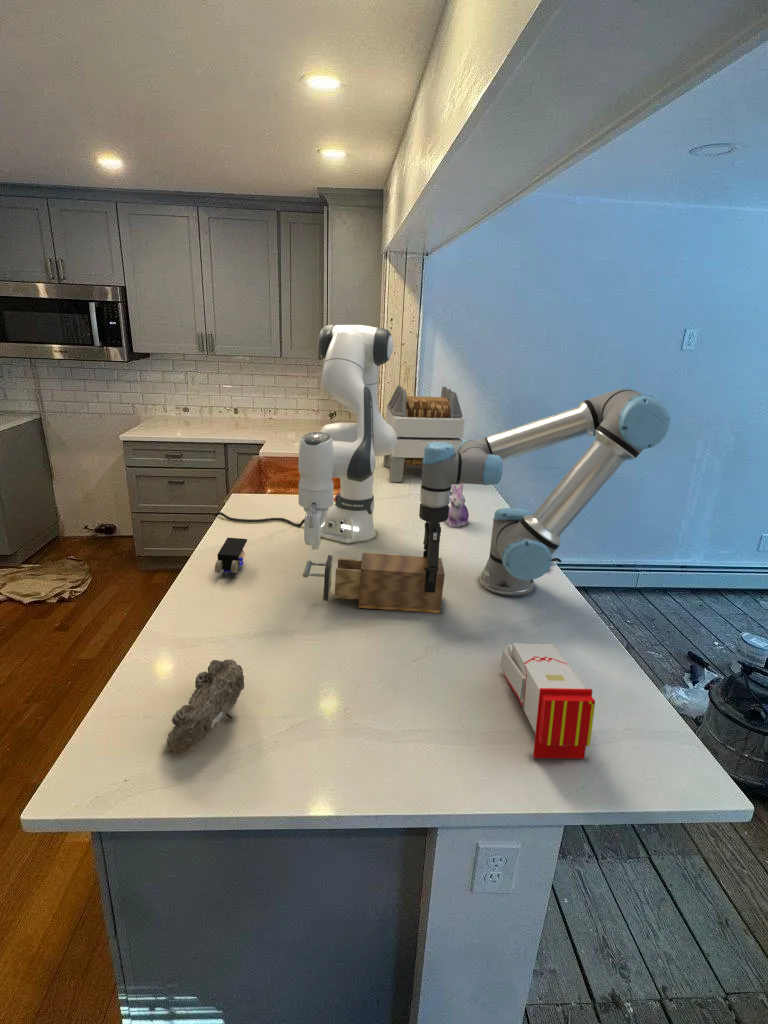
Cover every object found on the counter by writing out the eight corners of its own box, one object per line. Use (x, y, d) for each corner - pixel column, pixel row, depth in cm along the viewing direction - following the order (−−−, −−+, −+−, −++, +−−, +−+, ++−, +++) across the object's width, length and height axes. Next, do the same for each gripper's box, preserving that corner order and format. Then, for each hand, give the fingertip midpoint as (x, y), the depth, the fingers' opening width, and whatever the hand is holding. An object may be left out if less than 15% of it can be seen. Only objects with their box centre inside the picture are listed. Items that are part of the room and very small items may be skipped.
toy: (549, 626, 126) (605, 697, 97) (544, 681, 129) (596, 766, 100) (495, 625, 126) (534, 696, 96) (491, 680, 128) (528, 765, 99)
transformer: (382, 463, 289) (386, 382, 275) (445, 464, 293) (451, 384, 279) (390, 482, 257) (394, 392, 243) (460, 483, 261) (468, 394, 247)
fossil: (192, 660, 117) (244, 628, 112) (224, 691, 120) (276, 661, 115) (142, 746, 98) (202, 712, 93) (182, 779, 101) (242, 748, 96)
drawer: (301, 599, 148) (302, 567, 145) (306, 583, 157) (307, 553, 154) (399, 605, 149) (402, 574, 146) (399, 589, 158) (401, 559, 154)
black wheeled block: (238, 584, 162) (249, 557, 175) (236, 562, 158) (247, 536, 172) (215, 584, 161) (227, 556, 175) (212, 561, 158) (225, 535, 171)
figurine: (454, 529, 206) (457, 490, 201) (439, 520, 214) (442, 482, 209) (475, 526, 210) (479, 487, 205) (459, 517, 218) (463, 479, 213)
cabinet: (358, 607, 149) (360, 569, 145) (360, 589, 158) (362, 552, 154) (440, 612, 149) (444, 574, 145) (436, 594, 159) (441, 557, 155)
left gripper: (324, 511, 134) (324, 564, 139) (332, 486, 153) (331, 533, 158) (297, 510, 134) (298, 563, 139) (308, 485, 153) (308, 532, 158)
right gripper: (454, 520, 133) (446, 603, 141) (445, 490, 155) (438, 564, 162) (422, 518, 133) (416, 602, 141) (417, 489, 155) (412, 563, 162)
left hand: (316, 547), depth 148 cm, fingers closed
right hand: (428, 581), depth 152 cm, fingers closed on cabinet, 10 cm apart
